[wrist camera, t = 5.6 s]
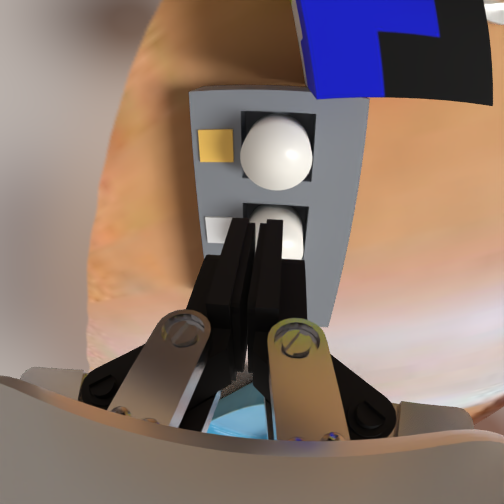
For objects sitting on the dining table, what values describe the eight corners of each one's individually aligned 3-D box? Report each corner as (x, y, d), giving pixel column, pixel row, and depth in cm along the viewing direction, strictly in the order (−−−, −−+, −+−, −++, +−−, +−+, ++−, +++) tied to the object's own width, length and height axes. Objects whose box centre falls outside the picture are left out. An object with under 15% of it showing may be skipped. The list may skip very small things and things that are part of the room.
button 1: (310, 115, 19) (314, 125, 16) (307, 172, 22) (309, 192, 19) (247, 112, 20) (239, 122, 17) (247, 169, 22) (240, 188, 19)
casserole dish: (258, 440, 65) (255, 465, 59) (176, 412, 60) (169, 439, 54) (378, 389, 45) (383, 425, 39) (276, 345, 40) (273, 391, 34)
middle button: (304, 203, 23) (306, 227, 20) (299, 249, 26) (300, 276, 23) (248, 200, 24) (241, 223, 21) (248, 246, 26) (243, 272, 24)
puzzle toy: (305, 83, 20) (316, 99, 12) (283, -29, 15) (279, -80, 7) (423, 83, 19) (492, 106, 11) (407, -26, 13) (467, -57, 5)
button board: (356, 92, 20) (370, 99, 17) (325, 299, 33) (328, 328, 30) (203, 86, 21) (187, 92, 18) (219, 292, 34) (212, 320, 31)
